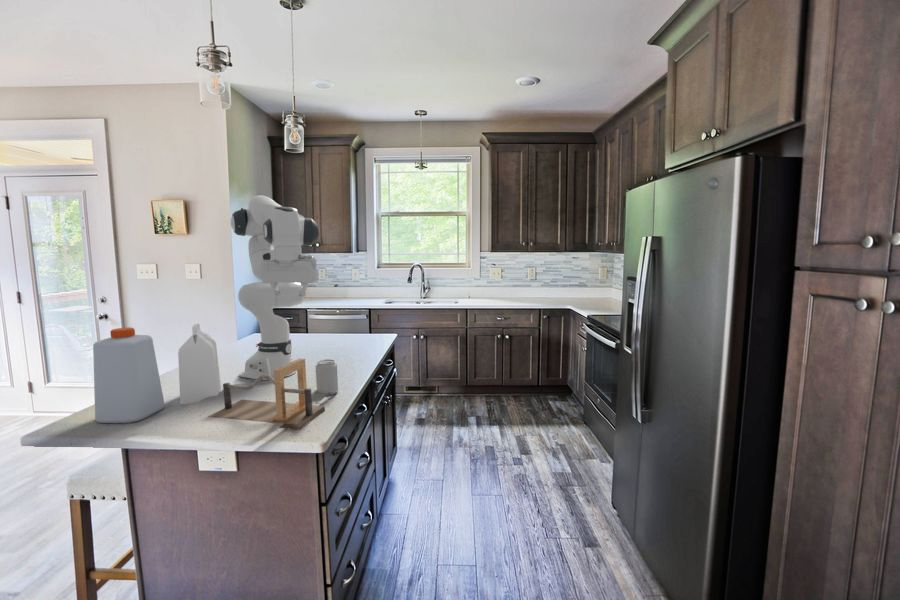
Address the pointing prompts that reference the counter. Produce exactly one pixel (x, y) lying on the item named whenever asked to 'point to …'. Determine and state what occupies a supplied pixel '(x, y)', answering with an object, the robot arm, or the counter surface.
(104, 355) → the plastic bottle
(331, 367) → the can
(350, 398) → the counter surface
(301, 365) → the wooden frame
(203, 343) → the milk
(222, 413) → the buzz board
